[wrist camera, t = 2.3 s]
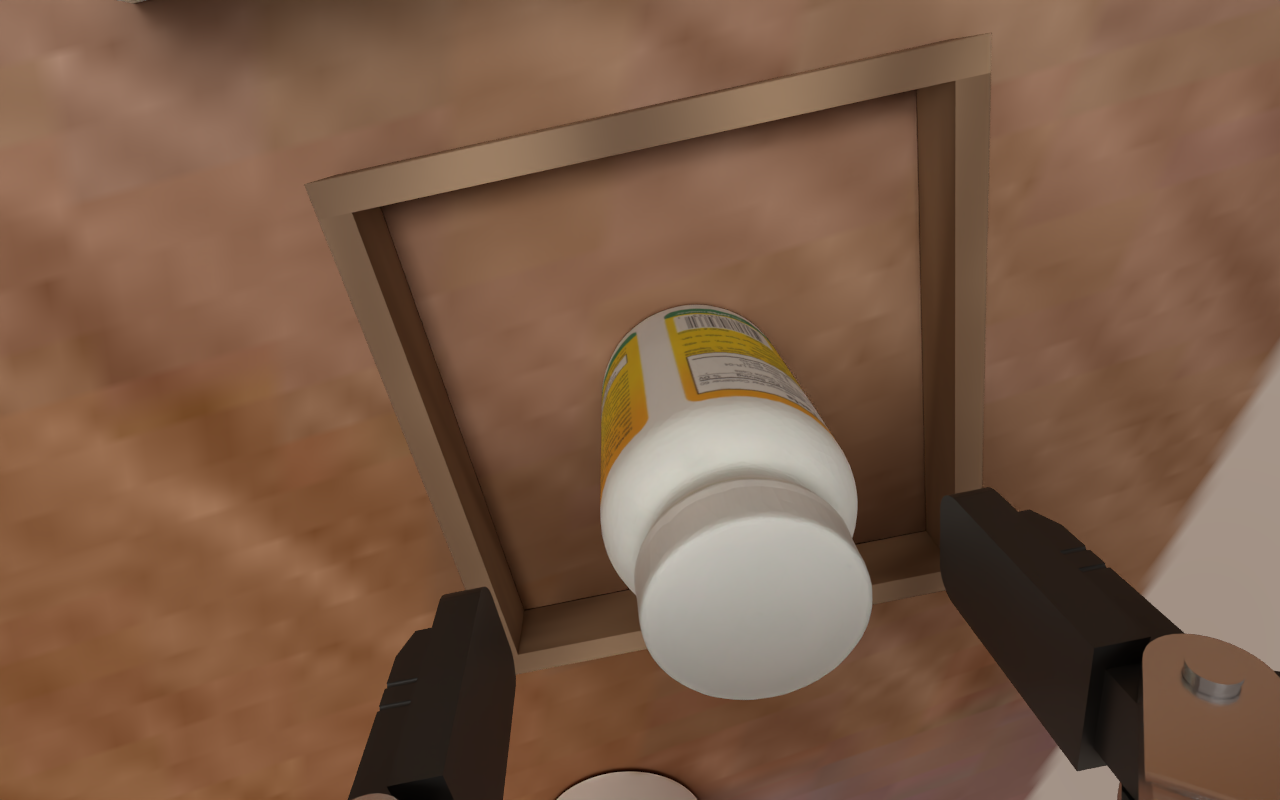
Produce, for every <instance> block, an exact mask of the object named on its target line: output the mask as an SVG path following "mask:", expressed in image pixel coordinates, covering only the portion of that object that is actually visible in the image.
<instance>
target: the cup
mask: <svg viewBox="0 0 1280 800" xmlns="http://www.w3.org/2000/svg"><path fill="white" fill-rule="evenodd" d="M557 800H697V799H696V797H695V796H694V795H693V794H692V793H691V792H690V791H689V790H688V789H687V788H685V787H684V786H683V785H681V784H679V783H677V782H675V781H673V780H671V779H669V778H666V777H663V776H659V775H656V774H651V773H645V772H634V771H625V772H614V773H608V774H603V775H599V776H596V777H593V778H590V779H587V780H585V781H583V782H581V783H578V784H577V785H575V786H573V787H571V788H570V789H568V790H567V791H566V792H564V793H563V794H562V795H561V796H560V797H559V798H558V799H557Z"/></svg>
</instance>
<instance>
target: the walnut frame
mask: <svg viewBox="0 0 1280 800" xmlns="http://www.w3.org/2000/svg"><path fill="white" fill-rule="evenodd" d="M991 54H992V33H987V34H981V35H975V36H969V37H962V38H956V39H950V40H945V41H940V42H936V43H931V44H927V45H922V46H918V47H913V48H909V49H904V50H900V51H895V52H891V53H886V54H882V55H877V56H872V57H868V58H863V59H859V60H854V61H850V62H845V63H841V64H836V65H832V66H827V67H823V68H818V69H814V70H809V71H805V72H800V73H795V74H791V75H786V76H782V77H777V78H773V79H768V80H764V81H759V82H755V83H750V84H746V85H741V86H737V87H732V88H728V89H723V90H718V91H714V92H709V93H705V94H700V95H696V96H691V97H687V98H682V99H678V100H673V101H669V102H664V103H660V104H655V105H651V106H646V107H641V108H637V109H632V110H628V111H623V112H619V113H614V114H610V115H605V116H601V117H596V118H592V119H587V120H583V121H578V122H574V123H569V124H564V125H560V126H555V127H551V128H546V129H542V130H537V131H533V132H528V133H524V134H519V135H515V136H510V137H506V138H501V139H497V140H492V141H487V142H483V143H478V144H474V145H469V146H465V147H460V148H456V149H451V150H447V151H442V152H438V153H433V154H429V155H424V156H420V157H415V158H410V159H406V160H401V161H397V162H392V163H388V164H383V165H379V166H374V167H370V168H365V169H361V170H356V171H352V172H347V173H343V174H338V175H334V176H331V177H327V178H324V179H321V180H317V181H314V182H311V183H307V184H304V185H305V188H306V190H307V193H308V195H309V198H310V201H311V203H312V206H313V208H314V211H315V213H316V216H317V218H318V221H319V223H320V226H321V228H322V231H323V233H324V236H325V238H326V241H327V243H328V246H329V248H330V251H331V253H332V256H333V258H334V261H335V263H336V266H337V268H338V271H339V273H340V276H341V278H342V281H343V283H344V286H345V288H346V291H347V293H348V296H349V298H350V301H351V303H352V306H353V308H354V311H355V313H356V316H357V318H358V321H359V323H360V326H361V328H362V331H363V333H364V336H365V339H366V341H367V344H368V346H369V349H370V351H371V354H372V356H373V359H374V361H375V364H376V366H377V369H378V371H379V374H380V376H381V379H382V381H383V384H384V386H385V389H386V391H387V394H388V396H389V399H390V401H391V404H392V406H393V409H394V411H395V414H396V416H397V419H398V421H399V424H400V426H401V429H402V431H403V434H404V436H405V439H406V441H407V444H408V446H409V449H410V451H411V454H412V456H413V459H414V461H415V464H416V466H417V469H418V471H419V474H420V477H421V479H422V482H423V484H424V487H425V489H426V492H427V494H428V497H429V499H430V502H431V504H432V507H433V509H434V512H435V514H436V517H437V519H438V522H439V524H440V527H441V529H442V532H443V534H444V537H445V539H446V542H447V544H448V547H449V549H450V552H451V554H452V557H453V559H454V562H455V564H456V567H457V569H458V572H459V574H460V577H461V579H462V582H463V584H464V587H465V589H466V590H470V589H475V588H480V587H487V588H488V589H489V590H490V592H491V595H492V597H493V600H494V603H495V606H496V608H497V611H498V614H499V617H500V620H501V622H502V625H503V628H504V631H505V634H506V637H507V639H508V642H509V645H510V648H511V651H512V655H513V659H514V665H515V675H516V674H522V673H527V672H532V671H537V670H542V669H547V668H552V667H557V666H562V665H567V664H573V663H578V662H583V661H588V660H593V659H598V658H603V657H608V656H613V655H619V654H624V653H629V652H634V651H639V650H644V649H647V647H646V644H645V642H644V639H643V636H642V632H641V629H640V623H639V615H638V605H637V597H636V595H635V594H634V593H633V592H632V591H631V590H626V591H621V592H616V593H611V594H606V595H601V596H596V597H591V598H586V599H581V600H576V601H571V602H566V603H561V604H556V605H550V606H545V607H540V608H535V609H530V610H525V611H524V609H523V606H522V603H521V600H520V597H519V595H518V592H517V589H516V586H515V583H514V581H513V578H512V575H511V572H510V569H509V567H508V564H507V561H506V558H505V555H504V553H503V550H502V547H501V544H500V541H499V539H498V536H497V533H496V530H495V527H494V525H493V522H492V519H491V516H490V513H489V511H488V508H487V505H486V502H485V499H484V497H483V494H482V491H481V488H480V485H479V483H478V480H477V477H476V474H475V471H474V469H473V466H472V463H471V460H470V457H469V455H468V452H467V449H466V446H465V443H464V440H463V438H462V435H461V432H460V429H459V426H458V424H457V421H456V418H455V415H454V412H453V410H452V407H451V404H450V401H449V398H448V396H447V393H446V390H445V387H444V384H443V382H442V379H441V376H440V373H439V370H438V368H437V365H436V362H435V359H434V356H433V354H432V351H431V348H430V345H429V342H428V340H427V337H426V334H425V331H424V328H423V326H422V323H421V320H420V317H419V314H418V312H417V309H416V306H415V303H414V300H413V298H412V295H411V292H410V289H409V286H408V284H407V281H406V278H405V275H404V272H403V270H402V267H401V264H400V261H399V258H398V256H397V253H396V250H395V247H394V244H393V242H392V239H391V236H390V233H389V230H388V227H387V225H386V222H385V219H384V216H383V213H382V211H381V208H380V206H384V205H389V204H394V203H398V202H403V201H407V200H412V199H416V198H421V197H426V196H430V195H435V194H439V193H444V192H448V191H453V190H457V189H462V188H467V187H471V186H476V185H480V184H485V183H489V182H494V181H499V180H503V179H508V178H512V177H517V176H521V175H526V174H531V173H535V172H540V171H544V170H549V169H553V168H558V167H563V166H567V165H572V164H576V163H581V162H585V161H590V160H595V159H599V158H604V157H608V156H613V155H617V154H622V153H627V152H631V151H636V150H640V149H645V148H649V147H654V146H659V145H663V144H668V143H672V142H677V141H681V140H686V139H691V138H695V137H700V136H704V135H709V134H713V133H718V132H723V131H727V130H732V129H736V128H741V127H745V126H750V125H754V124H759V123H764V122H768V121H773V120H777V119H782V118H786V117H791V116H796V115H800V114H805V113H809V112H814V111H818V110H823V109H828V108H832V107H837V106H841V105H846V104H850V103H855V102H860V101H864V100H869V99H873V98H878V97H882V96H887V95H892V94H896V93H901V92H905V91H910V90H914V89H917V123H918V170H919V217H920V264H921V311H922V358H923V405H924V452H925V499H926V531H923V532H918V533H913V534H908V535H903V536H898V537H893V538H888V539H883V540H878V541H872V542H867V543H862V544H857V545H856V547H857V549H858V551H859V553H860V555H861V556H862V558H863V560H864V562H865V565H866V567H867V570H868V573H869V576H870V579H871V584H872V605H874V604H879V603H884V602H889V601H894V600H899V599H904V598H910V597H915V596H920V595H925V594H930V593H935V592H940V591H945V590H946V589H945V587H944V584H943V581H942V577H941V572H940V505H941V500H942V498H943V497H944V496H946V495H951V494H956V493H961V492H966V491H971V490H976V489H981V488H982V471H983V424H984V378H985V332H986V285H987V239H988V193H989V147H990V100H991Z"/></svg>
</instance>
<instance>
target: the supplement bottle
mask: <svg viewBox="0 0 1280 800" xmlns="http://www.w3.org/2000/svg"><path fill="white" fill-rule="evenodd" d="M857 509H858V500H857V490H856V485H855V480H854V477H853V474H852V470H851V467H850V465H849V463H848V461H847V459H846V457H845V455H844V453H843V451H842V449H841V448H840V446H839V445H838V443H837V441H836V440H835V438H834V437H833V435H832V434H831V432H830V431H829V429H828V428H827V426H826V425H825V423H824V422H823V420H822V419H821V417H820V416H819V414H818V413H817V411H816V410H815V408H814V407H813V405H812V404H811V402H810V401H809V399H808V398H807V396H806V395H805V393H804V392H803V390H802V389H801V387H800V386H799V384H798V382H797V381H796V380H795V378H794V377H793V375H792V374H791V372H790V371H789V369H788V368H787V366H786V365H785V363H784V362H783V360H782V359H781V357H780V356H779V354H778V353H777V351H776V350H775V348H774V347H773V346H772V344H771V343H770V341H769V340H768V339H767V337H766V336H765V335H764V334H763V333H762V332H761V331H760V330H759V329H758V328H757V327H756V326H755V325H754V324H752V323H751V322H750V321H748V320H747V319H745V318H744V317H742V316H740V315H738V314H736V313H734V312H731V311H729V310H726V309H722V308H719V307H714V306H708V305H683V306H678V307H674V308H670V309H667V310H664V311H661V312H658V313H656V314H654V315H652V316H650V317H648V318H647V319H645V320H644V321H642V322H641V323H639V324H638V325H637V326H635V327H634V328H633V329H632V330H631V331H630V332H628V333H627V334H626V335H625V337H624V338H623V339H622V340H621V341H620V343H619V344H618V346H617V348H616V349H615V351H614V353H613V355H612V357H611V359H610V361H609V363H608V366H607V369H606V372H605V376H604V380H603V386H602V415H601V495H600V516H601V529H602V536H603V540H604V545H605V548H606V551H607V554H608V556H609V559H610V561H611V563H612V565H613V567H614V569H615V570H616V572H617V573H618V575H619V576H620V578H621V579H622V580H623V582H624V583H625V584H626V585H627V586H628V588H629V589H630V590H631V591H632V592H633V593H634V594H635V595H636V597H637V605H638V615H639V623H640V629H641V632H642V636H643V639H644V642H645V644H646V647H647V649H648V650H649V652H650V654H651V656H652V657H653V659H654V660H655V661H656V663H657V664H658V665H659V666H660V667H661V668H662V669H663V670H664V671H665V672H666V673H667V674H668V675H669V676H671V677H672V678H673V679H674V680H676V681H678V682H680V683H681V684H683V685H684V686H686V687H688V688H690V689H693V690H695V691H698V692H700V693H702V694H705V695H709V696H713V697H718V698H724V699H734V700H756V699H762V698H769V697H775V696H779V695H784V694H787V693H790V692H793V691H795V690H798V689H800V688H803V687H805V686H808V685H810V684H811V683H813V682H815V681H817V680H819V679H820V678H822V677H823V676H825V675H826V674H828V673H829V672H831V671H832V670H834V669H835V668H836V667H837V666H838V665H839V664H840V663H841V662H842V661H843V660H844V659H845V658H846V657H847V656H848V655H849V654H850V652H851V651H852V650H853V649H854V647H855V646H856V645H857V643H858V642H859V641H860V639H861V638H862V636H863V633H864V631H865V630H866V627H867V625H868V622H869V618H870V615H871V610H872V584H871V579H870V576H869V573H868V570H867V567H866V565H865V562H864V560H863V558H862V556H861V555H860V553H859V551H858V549H857V547H856V545H855V543H854V541H853V539H852V537H853V534H854V530H855V526H856V519H857Z"/></svg>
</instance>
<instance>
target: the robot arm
mask: <svg viewBox="0 0 1280 800" xmlns="http://www.w3.org/2000/svg"><path fill="white" fill-rule="evenodd" d="M940 572H941V577H942V581H943V584H944V587H945V589H946V592H947V594H948V596H949V598H950V600H951V601H952V603H953V604H954V606H955V607H956V608H957V610H958V611H959V612H960V614H961V615H962V616H963V618H964V619H965V620H966V622H967V623H968V624H969V626H970V627H971V629H972V630H973V631H974V633H975V634H976V635H977V637H978V638H979V639H980V641H981V642H982V643H983V645H984V646H985V647H986V649H987V650H988V651H989V653H990V654H991V656H992V657H993V658H994V660H995V661H996V662H997V664H998V665H999V666H1000V668H1001V669H1002V670H1003V672H1004V673H1005V674H1006V676H1007V677H1008V679H1009V680H1010V681H1011V683H1012V684H1013V685H1014V687H1015V688H1016V689H1017V691H1018V692H1019V693H1020V695H1021V696H1022V697H1023V699H1024V700H1025V702H1026V703H1027V704H1028V706H1029V707H1030V708H1031V710H1032V711H1033V712H1034V714H1035V715H1036V716H1037V718H1038V719H1039V720H1040V722H1041V723H1042V725H1043V726H1044V727H1045V729H1046V730H1047V731H1048V733H1049V734H1050V735H1051V737H1052V738H1053V739H1054V741H1055V742H1056V743H1057V745H1058V746H1059V748H1060V749H1061V750H1062V752H1063V753H1064V754H1065V756H1066V757H1067V758H1068V760H1069V761H1070V762H1071V764H1072V765H1073V766H1074V768H1075V769H1076V771H1081V770H1085V769H1091V768H1096V767H1100V766H1106V765H1107V766H1108V767H1109V768H1110V769H1111V771H1112V772H1113V773H1114V774H1115V776H1116V777H1117V778H1118V779H1119V781H1120V783H1119V789H1118V796H1117V800H1280V672H1278V671H1273V670H1272V669H1271V668H1270V667H1269V666H1267V665H1266V664H1265V663H1264V662H1263V661H1261V660H1260V659H1258V658H1257V657H1255V656H1254V655H1252V654H1250V653H1249V652H1247V651H1245V650H1243V649H1241V648H1239V647H1237V646H1234V645H1232V644H1230V643H1227V642H1224V641H1221V640H1218V639H1215V638H1211V637H1207V636H1201V635H1195V634H1185V633H1183V632H1182V631H1181V630H1180V629H1179V628H1178V627H1177V626H1176V625H1174V624H1173V623H1172V622H1171V621H1170V620H1169V619H1168V618H1167V617H1165V616H1164V615H1163V614H1162V613H1161V612H1160V611H1159V610H1157V609H1156V608H1155V607H1154V606H1153V605H1152V604H1151V603H1150V602H1148V601H1147V600H1146V599H1145V598H1144V597H1143V596H1142V595H1140V594H1139V593H1138V592H1137V591H1136V590H1135V589H1134V588H1133V587H1131V586H1130V585H1129V584H1128V583H1127V582H1126V581H1125V580H1123V579H1122V578H1121V577H1120V576H1119V575H1118V574H1117V573H1116V572H1114V571H1113V570H1112V569H1111V568H1106V566H1105V563H1104V562H1103V561H1102V560H1101V559H1100V558H1099V557H1097V556H1096V555H1095V554H1094V553H1093V552H1092V551H1091V550H1086V548H1085V545H1084V544H1083V543H1082V542H1080V541H1079V540H1078V539H1077V538H1076V537H1075V536H1074V535H1072V534H1071V533H1070V532H1069V531H1068V530H1067V529H1066V528H1065V527H1063V526H1062V525H1061V524H1059V523H1056V522H1054V521H1052V520H1050V519H1048V518H1046V517H1044V516H1042V515H1040V514H1038V513H1035V512H1033V511H1031V510H1026V511H1021V512H1018V511H1017V510H1016V509H1015V508H1013V507H1012V506H1011V505H1010V504H1009V503H1008V502H1007V501H1006V500H1005V499H1004V498H1003V497H1002V496H1001V495H1000V494H999V493H997V492H996V491H995V490H994V489H992V488H989V487H986V488H981V489H976V490H971V491H966V492H961V493H956V494H951V495H946V496H944V497H943V498H942V500H941V505H940ZM515 687H516V676H515V665H514V659H513V655H512V651H511V648H510V645H509V642H508V639H507V637H506V634H505V631H504V628H503V625H502V622H501V620H500V617H499V614H498V611H497V608H496V606H495V603H494V600H493V597H492V595H491V592H490V590H489V589H488V588H487V587H480V588H475V589H470V590H465V591H460V592H455V593H450V594H445V595H443V596H442V597H441V599H440V602H439V605H438V608H437V612H436V615H435V619H434V622H433V626H432V628H428V629H423V630H418V631H415V633H414V634H413V635H412V636H411V638H410V639H409V640H408V642H407V643H406V644H405V645H404V647H403V648H402V649H401V651H400V652H399V653H398V655H397V656H396V658H395V661H394V664H393V667H392V670H391V673H390V676H389V679H388V682H387V689H385V691H384V693H383V696H382V699H381V702H380V705H379V707H380V711H379V712H377V714H376V717H375V720H374V723H373V726H372V729H371V732H370V735H369V738H368V741H367V744H366V747H365V750H364V753H363V756H362V759H361V762H360V765H359V768H358V771H357V774H356V777H355V780H354V783H353V786H352V789H351V792H350V795H349V798H348V800H503V793H504V784H505V776H506V767H507V758H508V749H509V741H510V732H511V723H512V714H513V705H514V697H515Z"/></svg>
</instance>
